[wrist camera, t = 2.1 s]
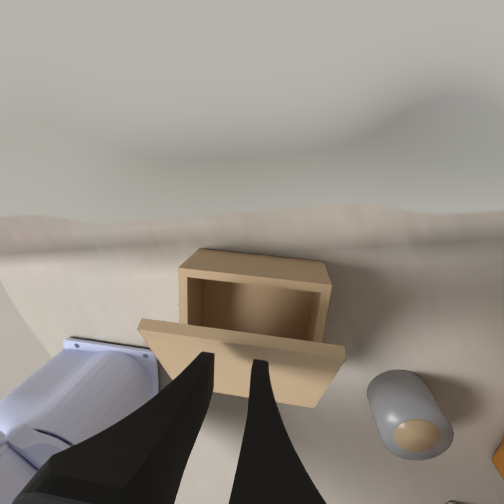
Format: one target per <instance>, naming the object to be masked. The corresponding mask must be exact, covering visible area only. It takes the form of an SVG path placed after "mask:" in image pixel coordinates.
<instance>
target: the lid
mask: <svg viewBox="0 0 504 504" xmlns="http://www.w3.org/2000/svg"><path fill="white" fill-rule="evenodd" d="M137 330H138V331H139V333H140V334H141V336H142V337H143V338H144V340H145V341H146V343H147V344H148V346H149V347H150V349H151V350H152V352H153V353H154V354H155V356H156V357H157V359H158V360H159V362H160V363H161V365H162V366H163V367H164V369H165V370H166V372H167V373H168V375H169V376H170V378H171V379H172V380H174V379H175V378H176V377H177V376H178V375H179V374H180V373H181V372H182V371H183V370H184V369H185V368H186V367H187V366H188V365H189V364H190V363H191V362H192V361H193V360H194V359H195V358H196V357H197V356H198V355H199V354H200V353H201V352H202V351H203V352H210V353H215V361H214V389H213V392H216V393H223V394H229V395H235V396H241V397H247V398H249V389H250V377H251V368H252V363H253V360H254V359H258V360H265V361H267V362H268V363H269V375H270V381H271V386H272V390H273V394H274V397H275V401H276V402H278V403H285V404H291V405H297V406H303V407H309V408H315V406H316V405H317V403H318V402H319V400H320V398H321V397H322V395H323V394H324V392H325V391H326V389H327V388H328V386H329V384H330V383H331V381H332V380H333V378H334V377H335V375H336V373H337V372H338V370H339V369H340V367H341V366H342V364H343V362H344V361H345V359H346V352H345V346H342V345H334V344H327V343H320V342H312V341H305V340H298V339H290V338H283V337H275V336H268V335H261V334H253V333H246V332H239V331H231V330H224V329H217V328H209V327H202V326H194V325H187V324H180V323H172V322H165V321H158V320H150V319H143V318H142V319H141V322H140V324H139V326H138V328H137Z"/></svg>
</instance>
